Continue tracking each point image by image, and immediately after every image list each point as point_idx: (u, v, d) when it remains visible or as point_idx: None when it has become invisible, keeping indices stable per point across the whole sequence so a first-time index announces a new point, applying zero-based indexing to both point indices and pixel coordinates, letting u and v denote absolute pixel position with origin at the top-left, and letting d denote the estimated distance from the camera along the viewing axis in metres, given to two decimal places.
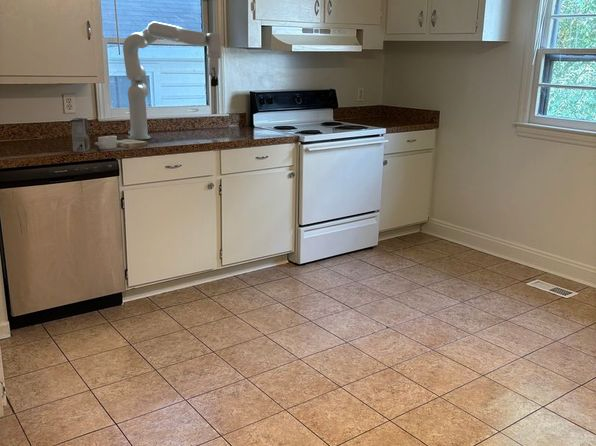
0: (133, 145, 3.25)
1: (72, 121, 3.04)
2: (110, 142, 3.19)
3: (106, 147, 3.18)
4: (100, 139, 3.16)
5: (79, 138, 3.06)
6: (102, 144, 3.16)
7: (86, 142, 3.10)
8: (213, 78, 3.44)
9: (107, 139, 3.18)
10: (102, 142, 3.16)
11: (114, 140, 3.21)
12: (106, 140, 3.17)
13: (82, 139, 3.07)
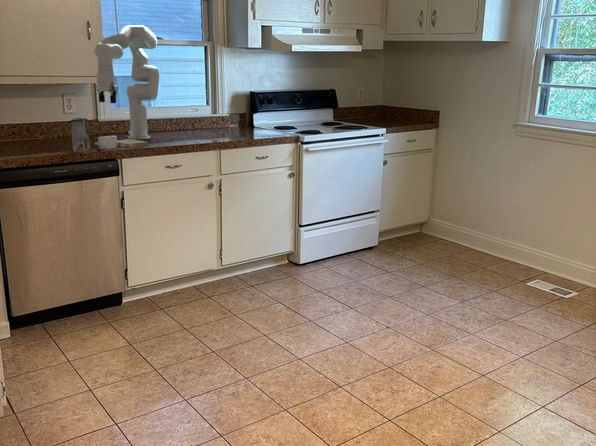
0: (133, 145, 3.25)
1: (72, 121, 3.04)
2: (110, 142, 3.19)
3: (106, 147, 3.18)
4: (100, 139, 3.16)
5: (79, 138, 3.06)
6: (102, 144, 3.16)
7: (86, 142, 3.10)
8: (114, 94, 3.11)
9: (107, 139, 3.18)
10: (102, 142, 3.16)
11: (114, 140, 3.21)
12: (106, 140, 3.17)
13: (82, 139, 3.07)
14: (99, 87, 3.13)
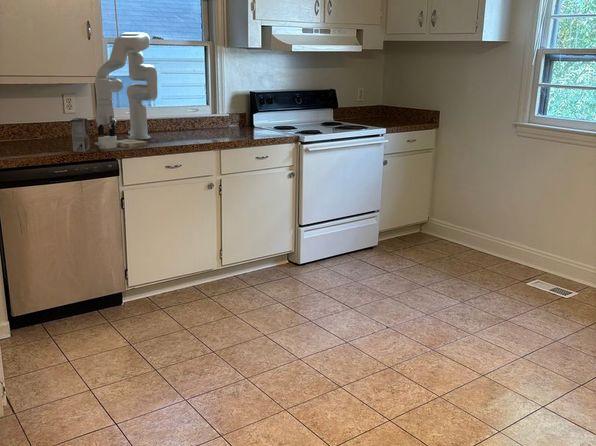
0: (133, 145, 3.25)
1: (72, 121, 3.04)
2: (110, 142, 3.19)
3: (106, 147, 3.18)
4: (100, 139, 3.16)
5: (79, 138, 3.06)
6: (102, 144, 3.16)
7: (86, 142, 3.10)
8: (113, 127, 3.14)
9: (107, 139, 3.18)
10: (102, 142, 3.16)
11: (114, 140, 3.21)
12: (106, 140, 3.17)
13: (82, 139, 3.07)
14: (98, 120, 3.16)
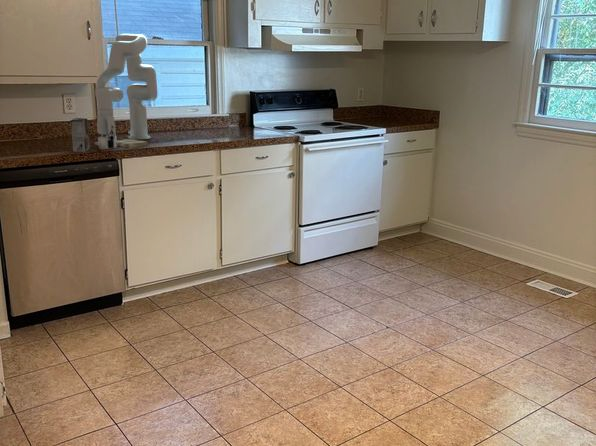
0: (133, 145, 3.25)
1: (72, 121, 3.04)
2: None
3: (106, 147, 3.18)
4: (100, 139, 3.16)
5: (79, 138, 3.06)
6: (102, 144, 3.16)
7: (86, 142, 3.10)
8: (111, 140, 3.18)
9: (107, 139, 3.17)
10: (102, 142, 3.16)
11: (114, 140, 3.21)
12: (106, 140, 3.17)
13: (82, 139, 3.07)
14: (99, 130, 3.18)
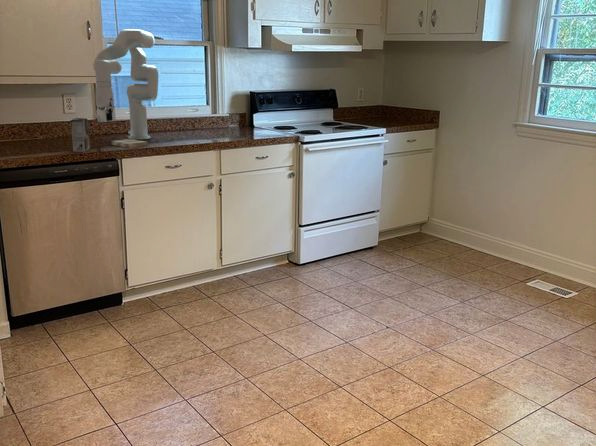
0: (133, 145, 3.25)
1: (72, 121, 3.04)
2: None
3: (105, 119, 3.14)
4: (98, 112, 3.12)
5: (79, 138, 3.06)
6: (100, 117, 3.13)
7: (86, 142, 3.10)
8: (110, 112, 3.14)
9: (105, 112, 3.14)
10: (100, 115, 3.13)
11: (112, 113, 3.17)
12: (104, 113, 3.14)
13: (82, 139, 3.07)
14: (98, 103, 3.14)
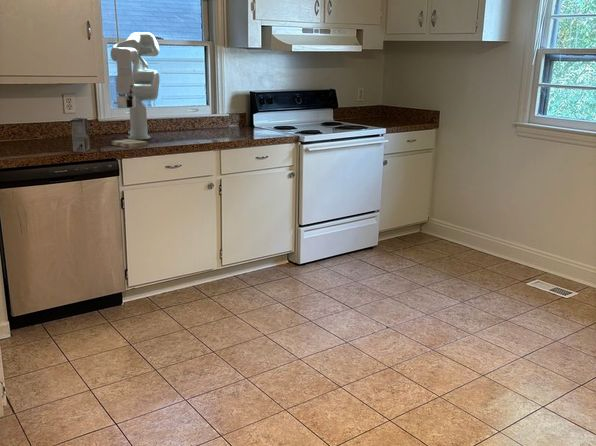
0: (133, 145, 3.25)
1: (72, 121, 3.04)
2: None
3: (125, 106, 3.23)
4: (119, 98, 3.21)
5: (79, 138, 3.06)
6: (121, 103, 3.21)
7: (86, 142, 3.10)
8: (130, 99, 3.23)
9: (126, 98, 3.22)
10: (121, 101, 3.21)
11: (133, 99, 3.26)
12: (125, 99, 3.22)
13: (82, 139, 3.07)
14: (118, 90, 3.23)
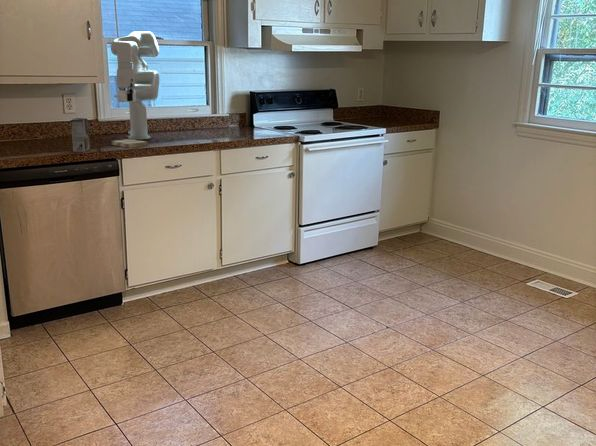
0: (133, 145, 3.25)
1: (72, 121, 3.04)
2: None
3: (125, 100, 3.22)
4: (119, 92, 3.20)
5: (79, 138, 3.06)
6: (121, 97, 3.21)
7: (86, 142, 3.10)
8: (131, 93, 3.22)
9: (126, 92, 3.22)
10: (121, 95, 3.20)
11: (133, 93, 3.25)
12: (125, 93, 3.21)
13: (82, 139, 3.07)
14: (119, 83, 3.22)
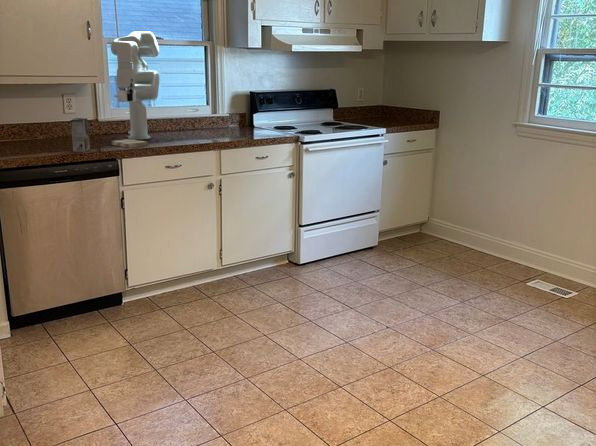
0: (133, 145, 3.25)
1: (72, 121, 3.04)
2: None
3: (125, 100, 3.22)
4: (119, 92, 3.20)
5: (79, 138, 3.06)
6: (121, 97, 3.21)
7: (86, 142, 3.10)
8: (131, 93, 3.22)
9: (126, 92, 3.22)
10: (121, 95, 3.20)
11: (133, 93, 3.25)
12: (125, 93, 3.21)
13: (82, 139, 3.07)
14: (119, 83, 3.22)
